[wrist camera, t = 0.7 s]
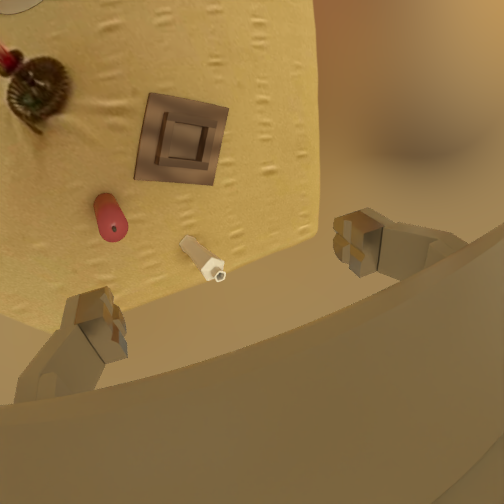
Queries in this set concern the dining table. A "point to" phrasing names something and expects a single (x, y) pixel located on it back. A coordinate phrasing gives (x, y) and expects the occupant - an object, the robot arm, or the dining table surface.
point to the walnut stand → (180, 140)
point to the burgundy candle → (110, 218)
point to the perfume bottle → (203, 259)
